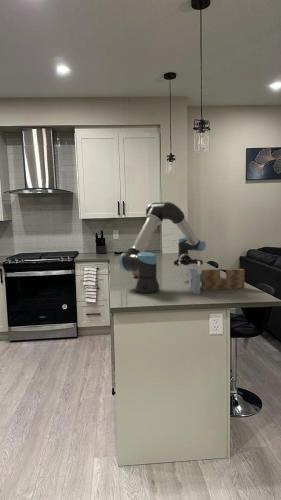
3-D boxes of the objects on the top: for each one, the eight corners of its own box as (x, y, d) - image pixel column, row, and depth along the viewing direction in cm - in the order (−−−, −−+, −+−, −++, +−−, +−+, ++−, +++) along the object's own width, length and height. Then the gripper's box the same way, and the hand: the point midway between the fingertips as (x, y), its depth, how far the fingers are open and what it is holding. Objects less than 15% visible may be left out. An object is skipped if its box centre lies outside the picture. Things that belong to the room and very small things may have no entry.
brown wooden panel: (202, 289, 194) (202, 270, 192) (201, 288, 197) (201, 269, 195) (244, 288, 194) (244, 269, 192) (242, 287, 197) (243, 268, 195)
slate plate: (200, 294, 183) (200, 274, 182) (195, 294, 183) (195, 274, 182) (193, 284, 207) (193, 266, 205) (188, 284, 207) (188, 266, 205)
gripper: (202, 264, 233) (208, 269, 212) (168, 265, 233) (171, 270, 212) (202, 254, 232) (208, 258, 211) (168, 255, 232) (171, 259, 211)
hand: (190, 264), depth 212 cm, fingers open, 13 cm apart
